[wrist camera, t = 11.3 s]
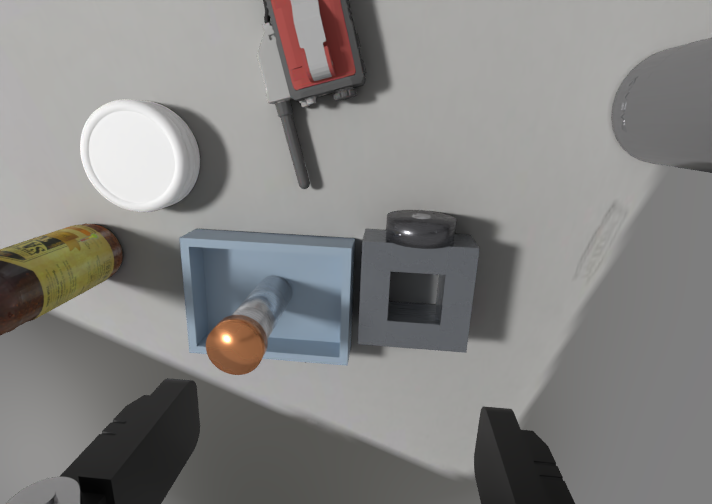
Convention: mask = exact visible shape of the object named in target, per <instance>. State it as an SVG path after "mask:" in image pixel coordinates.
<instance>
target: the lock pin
mask: <svg viewBox="0 0 712 504" xmlns="http://www.w3.org/2000/svg"><path fill="white" fill-rule="evenodd" d="M291 298H292V288H291V286H290V284H289V283H288V282H287V281H286V280H285V279H284V278H282V277H280V276H275V275H272V276H267V277H265V278H264V279H262V280H261V282H260V283H259V284H258V285H257V286H256V287H255V289H254V290H253V291H252V292H251V293H250V294H249V296H248V297H247V298H246V299H245V300H244V302H243V303H242V304H241V305H240V306H239V307H238V309H237V310H236V311H235V312H234V313H233V314H232V315H231V316H228V317H225V318H224V319H222V320H221V321H220V322H219V323H218V324H217V325H216V326H215V327H214V329H213V330H212V331H211V332H210V333H209V335H208V337H207V340H206V351H207V355H208V357H209V359H210V360H211V362H212V363H213V364H214V365H215V366H216V367H217V368H219V369H220V370H222V371H224V372H226V373H229V374H233V375H243V374H247V373H249V372H251V371H253V370H254V369H255V368H256V367H257V366H258V365H259V363H260V361H261V360H262V358H263V356H264V354H265V352H266V350H267V346H268V338H269V336H270V334H271V333H272V331H273V329H274V328H275V326H276V324H277V323H278V321H279V319H280V318H281V316H282V314H283V312H284V311H285V309H286V307H287V306H288V304H289V302H290V301H291Z"/></svg>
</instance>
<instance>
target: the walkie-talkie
mask: <svg viewBox="0 0 712 504" xmlns="http://www.w3.org/2000/svg"><path fill="white" fill-rule="evenodd" d="M263 2H264V6H265V17H264V20H265V24H262V26H263V30H264V34H263V37H262V40H261V43H260V46H259V49H258V53H257V59H258V62H259V66H260V70H261V73H262V77H263V81H264V84H265V88H266V98H267V101H268V103H270V104H275V105H276V108H277V112H278V116H279V117H280V118H281V121H282V124H283V128H284V132H285V135H286V139H287V143H288V146H289V150H290V154H291V157H292V161H293V165H294V168H295V172H296V176H297V179H298V183H299V186H300V187H301V188H302V189H307V188H308V187H309V186H310V181H309V178H308V174H307V170H306V166H305V162H304V159H303V155H302V151H301V147H300V143H299V140H298V136H297V132H296V128H295V124H294V121H293V117H292V114H293V111H292V107H291V104H290V100H291V99H294V100H296V101H299V103H301V105H302V107H307V106H310V105H311V104H314V103H317V102H316V98H317V97H319V96H324V95H327V94H331V93H335V92H336V93H335V94H334V95H333V97H334V100H335V101H338V100H343V99H347V98H351V97H354V96H356V95H357V91H356V89H353V88H354V87H358V86H361V85H363V84H364V82H365V74H364V73H366V70H365V66H364V62H363V60H362V59H361V56H360V51H359V49H360V42H359V38H358V35H357V34H356V32H355V28H354V25H353V23H352V22H353V19H352V17H351V11H350V9H349V8H350V5H349V3H348V0H263ZM270 18H271V20H270ZM270 22H271V23H272V24H271V23H270Z"/></svg>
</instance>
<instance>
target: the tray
mask: <svg viewBox="0 0 712 504" xmlns="http://www.w3.org/2000/svg"><path fill="white" fill-rule="evenodd" d="M180 249H181V260H182V272H183V283H184V295H185V306H186V317H187V329H188V340H189V352H190V353H201V354H207V351H206V340H207V337H208V335H209V333H210V332H211V331H212V330H213V329H214V327H215V326H216V325H217V324H218V323H219V322H220V321H221V320H222V319H224V318H225V317H228V316H231V315H232V314H233V313H234V312H235V311H236V310H237V309H238V307H239V306H240V305H241V304H242V303H243V302H244V300H245V299H246V298H247V297H248V296H249V294H250V293H251V292H252V291H253V290H254V289H255V287H256V286H257V285H258V284H259V283H260V282H261V280H262V279H264V278H265V277H267V276H272V275H275V276H280V277H282V278H284V279H285V280H286V281H287V282H288V283H289V284H290V286H291V288H292V298H291V301H290V302H289V304H288V306H287V307H286V309H285V311H284V312H283V314H282V316H281V318H280V319H279V321H278V323H277V324H276V326H275V328H274V329H273V331H272V333H271V334H270V336H269V338H268V346H267V350H266V352H265V354H264V356H263V358H262V359H274V360H287V361H299V362H311V363H323V364H336V365H348V360H349V354H350V349H351V331H352V305H353V279H354V253H355V238H343V237H327V236H310V235H293V234H276V233H260V232H243V231H226V230H209V229H195V230H193V231H191V232H189V233H187V234H186V235H184V236H182V237H180Z"/></svg>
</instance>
